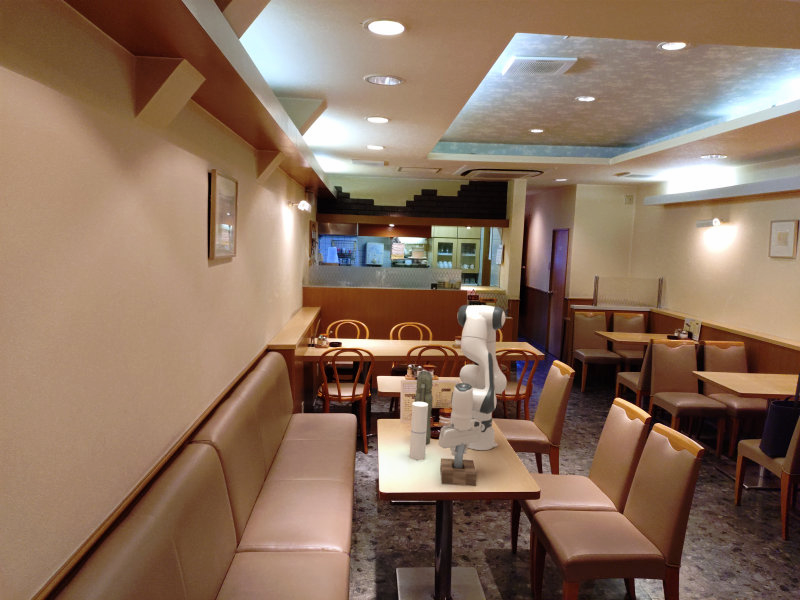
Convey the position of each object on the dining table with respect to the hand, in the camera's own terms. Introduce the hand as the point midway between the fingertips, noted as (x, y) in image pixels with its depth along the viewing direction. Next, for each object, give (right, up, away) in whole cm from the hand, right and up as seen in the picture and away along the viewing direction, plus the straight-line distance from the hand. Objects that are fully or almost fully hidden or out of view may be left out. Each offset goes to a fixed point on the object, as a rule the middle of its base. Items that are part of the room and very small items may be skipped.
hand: (458, 454), depth 229 cm
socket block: (0, -10, +1) cm, 10 cm away
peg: (0, -6, +1) cm, 6 cm away
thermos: (-14, -5, +39) cm, 42 cm away
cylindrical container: (-17, -7, +20) cm, 28 cm away
